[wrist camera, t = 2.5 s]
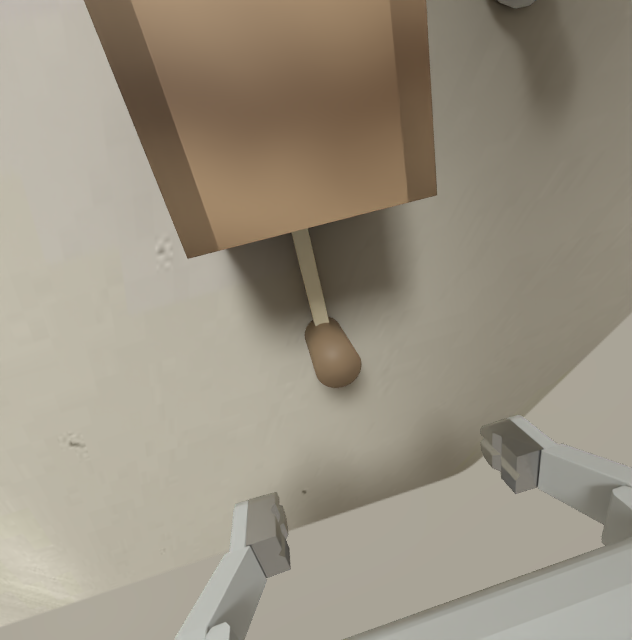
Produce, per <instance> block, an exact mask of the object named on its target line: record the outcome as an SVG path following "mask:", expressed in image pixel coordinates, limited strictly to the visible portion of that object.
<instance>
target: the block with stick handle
mask: <svg viewBox="0 0 632 640" xmlns="http://www.w3.org/2000/svg"><path fill="white" fill-rule="evenodd" d="M291 234H292V238H293V242H294V246H295V250H296V254H297V258H298V262H299V266H300V269H301V273H302V277H303V281H304V285H305V289H306V293H307V297H308V301H309V305H310V309H311V313H312V317H313V321H311V322H310V323H309V324H308V326H307V328H306V330H305V340H306V343H307V346H308V349H309V353H310V356H311V359H312V363H313V366H314V369H315V372H316V375H317V378H318V379H319V381H320V382H321V383H322V384H324V385H326V386H328V387H332V388H339V387H344V386H346V385H348V384H350V383H352V382H353V381H354V380H355V379H356V378H357V376H358V375H359V373H360V370H361V359H360V357H359V355H358V353H357V352H356V350H355V349H354V347H353V346H352V344H351V342H350V341H349V339H348V338H347V336H346V334H345V333H344V331H343V330H342V328H341V326H340V325H339V323H338V322H337V321H336V320H334V319H333V318H330V317H328V315H327V310H326V306H325V302H324V297H323V293H322V288H321V284H320V280H319V275H318V271H317V267H316V262H315V258H314V253H313V249H312V245H311V240H310V236H309V232H308V228H306V229H302V230H298V231H295V232H291Z"/></svg>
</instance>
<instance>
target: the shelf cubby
mask: <svg viewBox="0 0 632 640" xmlns="http://www.w3.org/2000/svg"><path fill="white" fill-rule="evenodd" d="M84 2H85V4H86V7H87V9H88V12H89V14H90V17H91V19H92V22H93V24H94V27H95V29H96V32H97V34H98V37H99V39H100V42H101V44H102V47H103V49H104V52H105V54H106V57H107V59H108V62H109V64H110V67H111V69H112V72H113V74H114V77H115V79H116V82H117V84H118V87H119V89H120V91H121V94H122V96H123V99H124V101H125V104H126V106H127V109H128V111H129V114H130V116H131V119H132V121H133V124H134V126H135V129H136V131H137V134H138V136H139V139H140V141H141V144H142V146H143V149H144V151H145V154H146V156H147V159H148V161H149V164H150V166H151V169H152V171H153V174H154V176H155V179H156V181H157V184H158V186H159V189H160V191H161V194H162V196H163V199H164V201H165V204H166V206H167V209H168V211H169V214H170V216H171V219H172V221H173V224H174V226H175V228H176V231H177V233H178V236H179V238H180V241H181V243H182V246H183V248H184V251H185V253H186V256H187V258H188V259H189V258H193V257H197V256H200V255H204V254H208V253H212V252H216V251H220V250H224V249H228V248H232V247H236V246H240V245H244V244H248V243H251V242H255V241H259V240H263V239H267V238H271V237H275V236H279V235H283V234H287V233H291V232H295V231H298V230H302V229H306V228H310V227H314V226H318V225H322V224H326V223H330V222H334V221H338V220H342V219H346V218H349V217H353V216H357V215H361V214H365V213H369V212H373V211H377V210H381V209H385V208H389V207H393V206H397V205H400V204H404V203H408V202H412V201H416V200H420V199H424V198H428V197H432V196H436V195H437V184H436V167H435V149H434V131H433V114H432V96H431V78H430V61H429V43H428V25H427V8H426V0H84Z"/></svg>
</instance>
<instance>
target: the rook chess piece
mask: <svg viewBox="0 0 632 640" xmlns="http://www.w3.org/2000/svg"><path fill="white" fill-rule="evenodd" d="M497 1H498V2H500V3H502V4H505V5H507V6H510V7H512V8H520V7H525V6H529V5H531V4H532V3H533V2H535V1H536V0H497Z"/></svg>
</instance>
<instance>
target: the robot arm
mask: <svg viewBox="0 0 632 640" xmlns="http://www.w3.org/2000/svg"><path fill="white" fill-rule="evenodd" d="M480 434H481V435H482V436H483V437H484V438H483V440H482V441H481V451H482V453H483V456H484V458H485V459H486V461H487V462H488V463H489V465H491V467H492V468H494V469H496V470H499V471H500V472H501V478H502V479H503V480H504V481H505V483H506V484H507V485H508V486H509V487H510V488H511V489H512V491H513V492H514V493H515V494H517V493H520V492H523V491H527V490H530V489H533V488H537V487H538V489H540V490H541V491H543V492H545V493H547V494H549V495H551V496H553V497H554V498H556V499H558V500H560V501H562V502H563V503H565V504H567V505H569V506H571V507H573V508H574V509H576V510H578V511H580V512H582V513H583V514H585V515H587V516H589V517H591V518H592V519H594V520H596V521H598V522H600V523H602V524H603V525H604V529H603V533H602V543H603V544H604V545H605V546H604V547H601V548H598V549H595V550H593V551H590V552H587V553H584V554H581V555H579V556H576V557H573V558H570V559H567V560H565V561H562V562H559V563H556V564H553V565H550V566H548V567H545V568H542V569H539V570H536V571H533V572H531V573H528V574H525V575H522V576H519V577H517V578H514V579H511V580H508V581H506V582H503V583H500V584H497V585H494V586H491V587H489V588H486V589H483V590H480V591H477V592H475V593H472V594H469V595H466V596H463V597H460V598H458V599H455V600H452V601H449V602H446V603H444V604H441V605H438V606H435V607H432V608H430V609H427V610H424V611H421V612H418V613H416V614H413V615H410V616H407V617H405V618H402V619H399V620H396V621H393V622H390V623H388V624H385V625H382V626H379V627H377V628H374V629H371V630H368V631H365V632H362V633H360V634H357V635H354V636H351V637H348V638H346V639H343V640H632V467H630V466H627V465H624V464H621V463H618V462H615V461H612V460H609V459H606V458H603V457H600V456H597V455H595V454H592V453H589V452H586V451H583V450H580V449H577V448H574V447H571V446H568V445H565V444H557V443H556V442H555V441H553V440H552V439H551V438H550V437H548V436H547V435H546V434H544V433H543V432H542V431H541V430H539V429H538V428H537V427H536V426H534V425H533V424H532V423H530V422H529V421H528V420H527V419H525V418H524V417H523V416H521V415H515V416H512V417H509V418H506V419H502V420H499V421H496V422H493V423H490V424H487V425H484V426H482V427H481V429H480ZM287 536H288V526H287V520H286V515H285V512H284V509H283V506H281V505H280V503H279V496H278V494H277V492H274V493H270V494H267V495H263V496H260V497H256V498H253V499H249V500H246V501H243V502H239V503H236V504H235V507H234V512H233V521H232V530H231V540H230V549H229V552H228V553H226V554H225V555H224V556H223V558H222V560H221V562H220V563H219V565H218V566H217V568H216V570H215V571H214V573H213V575H212V576H211V578H210V580H209V582H208V583H207V585H206V587H205V588H204V590H203V592H202V593H201V595H200V597H199V599H198V600H197V602H196V604H195V605H194V607H193V608H192V610H191V612H190V614H189V615H188V617H187V619H186V620H185V622H184V624H183V625H182V627H181V629H180V630H179V632H178V634H177V636H176V637H175V640H244V639H245V636H246V634H247V631H248V629H249V626H250V624H251V621H252V618H253V615H254V613H255V610H256V607H257V605H258V602H259V600H260V597H261V595H262V592H263V589H264V587H265V584H266V581H267V579H266V578H268V577H271V576H274V575H277V574H279V573H282V572H285V571H287V570H290V569H291V568H290V552H289V546H288V544H287V541H286V538H287Z"/></svg>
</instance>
